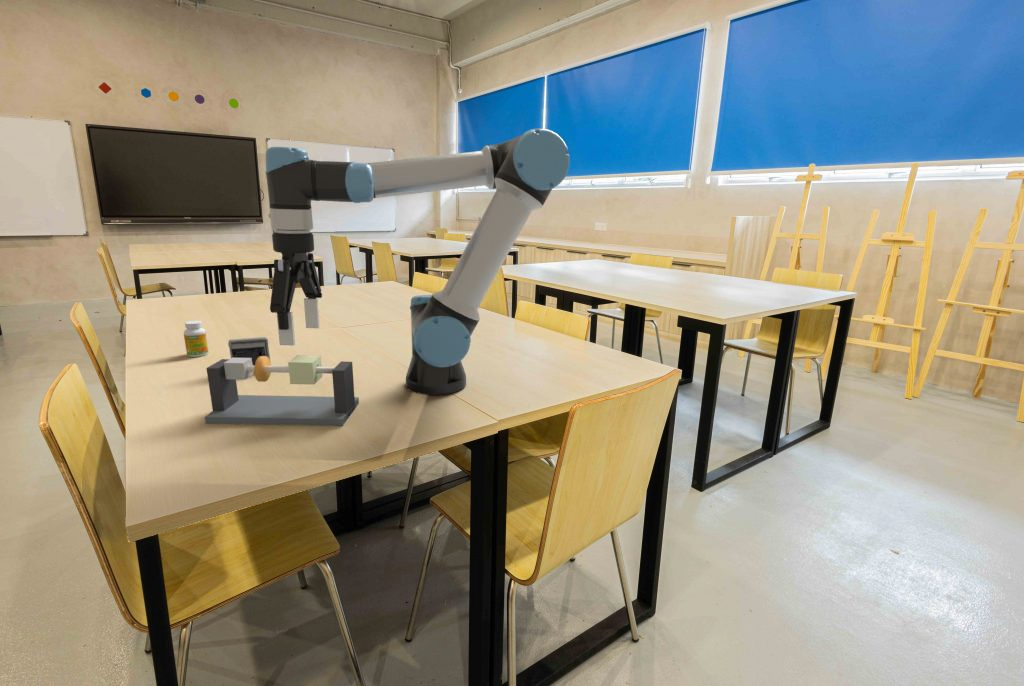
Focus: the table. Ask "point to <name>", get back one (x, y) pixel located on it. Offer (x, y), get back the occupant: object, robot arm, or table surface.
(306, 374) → the pale green sliding cube
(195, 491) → the table surface
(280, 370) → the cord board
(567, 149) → the robot arm
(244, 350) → the electrical switch
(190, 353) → the supplement bottle
